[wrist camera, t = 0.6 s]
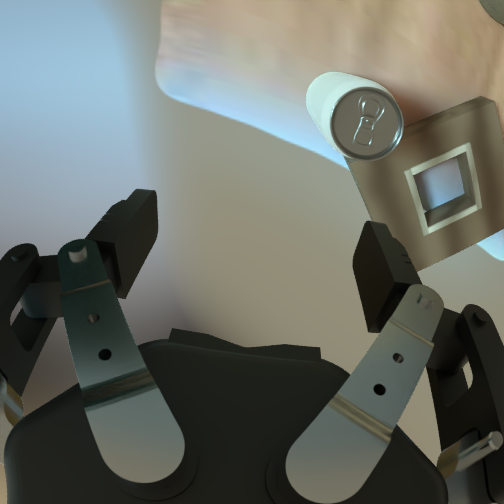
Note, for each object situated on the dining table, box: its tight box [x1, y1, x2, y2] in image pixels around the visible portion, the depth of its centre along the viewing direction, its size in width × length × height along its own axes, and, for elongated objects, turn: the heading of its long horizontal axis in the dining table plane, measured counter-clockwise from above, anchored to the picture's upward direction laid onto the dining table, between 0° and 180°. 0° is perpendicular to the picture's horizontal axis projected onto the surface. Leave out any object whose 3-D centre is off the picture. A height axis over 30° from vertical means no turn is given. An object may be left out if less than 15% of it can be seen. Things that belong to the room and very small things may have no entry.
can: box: [306, 72, 404, 161], centre depth 25 cm, size 6×6×12 cm
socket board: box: [343, 96, 504, 272], centre depth 33 cm, size 20×18×3 cm
